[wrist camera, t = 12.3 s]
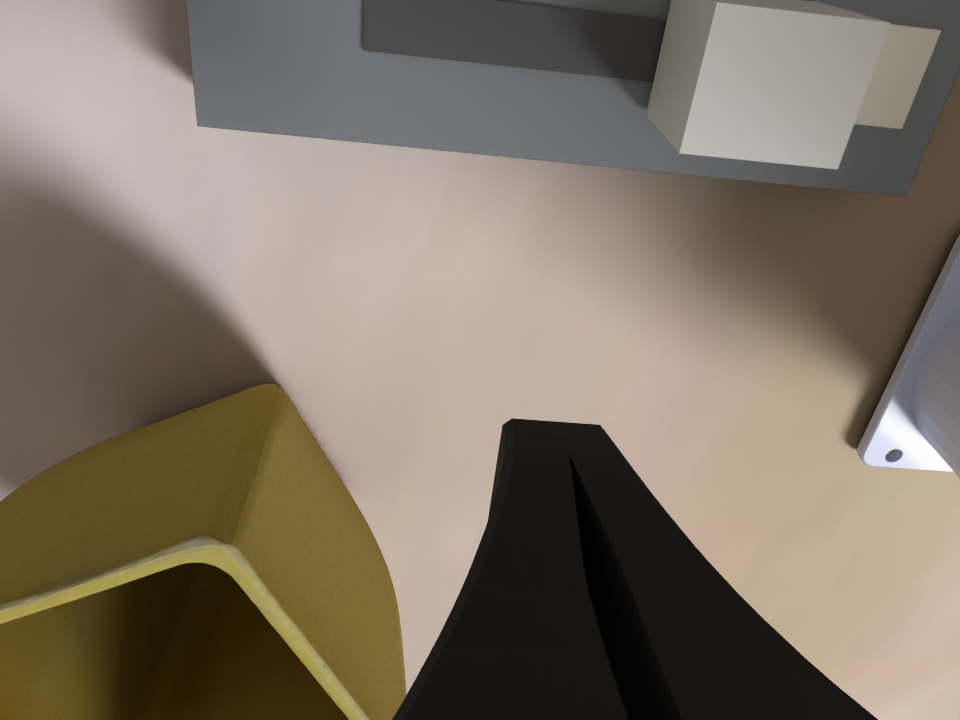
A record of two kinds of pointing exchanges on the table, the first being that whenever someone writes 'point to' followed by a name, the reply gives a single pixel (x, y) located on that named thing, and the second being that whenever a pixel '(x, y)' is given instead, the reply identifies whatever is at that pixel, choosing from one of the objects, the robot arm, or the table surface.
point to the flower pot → (197, 579)
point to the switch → (763, 79)
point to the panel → (534, 81)
